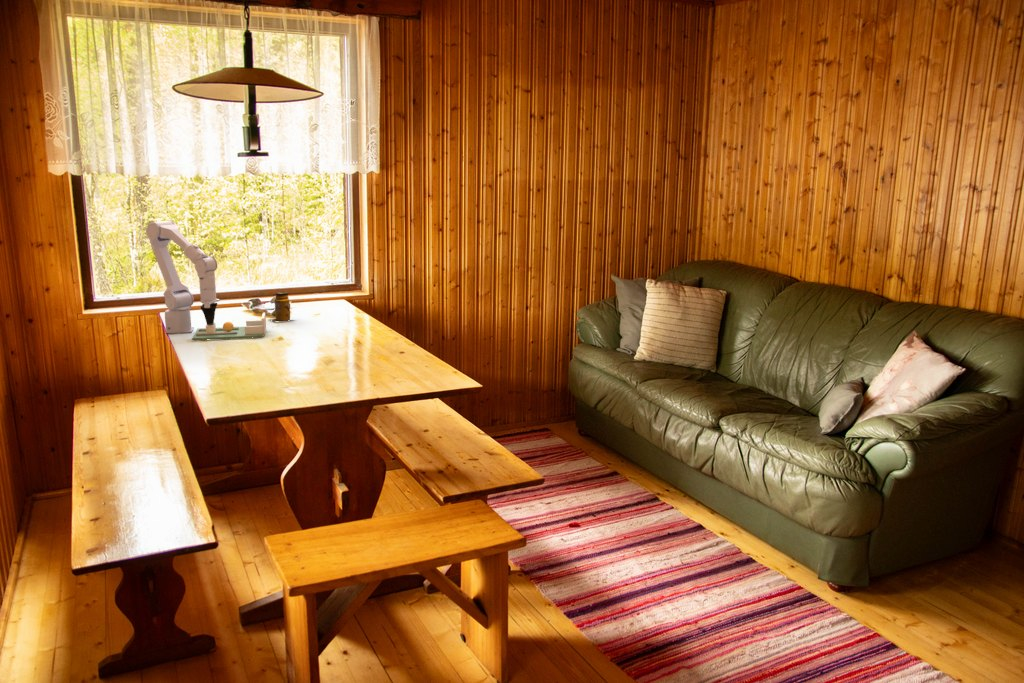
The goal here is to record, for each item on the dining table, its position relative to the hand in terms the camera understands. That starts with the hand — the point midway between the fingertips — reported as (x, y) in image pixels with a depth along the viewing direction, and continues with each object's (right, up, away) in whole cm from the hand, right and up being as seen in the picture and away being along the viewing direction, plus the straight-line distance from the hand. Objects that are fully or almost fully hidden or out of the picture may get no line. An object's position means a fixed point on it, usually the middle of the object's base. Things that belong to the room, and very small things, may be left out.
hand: (210, 322), depth 319 cm
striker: (0, -4, +1) cm, 4 cm away
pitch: (+7, -4, +3) cm, 9 cm away
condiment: (+19, +1, +30) cm, 36 cm away
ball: (+6, -2, +2) cm, 7 cm away
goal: (+16, -3, +5) cm, 17 cm away
